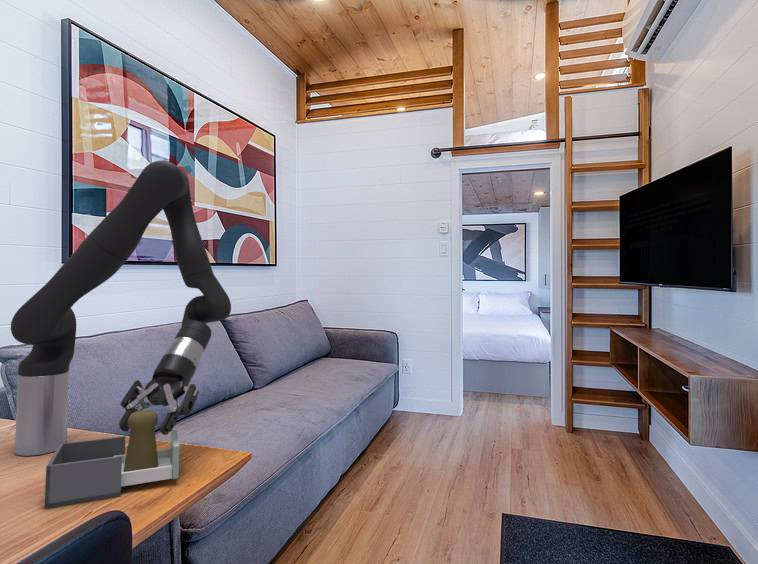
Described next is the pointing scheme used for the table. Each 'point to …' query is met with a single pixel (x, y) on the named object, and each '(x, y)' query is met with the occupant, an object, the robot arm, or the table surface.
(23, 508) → the table surface
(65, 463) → the box
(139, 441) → the cork
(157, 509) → the table surface
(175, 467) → the drawer
